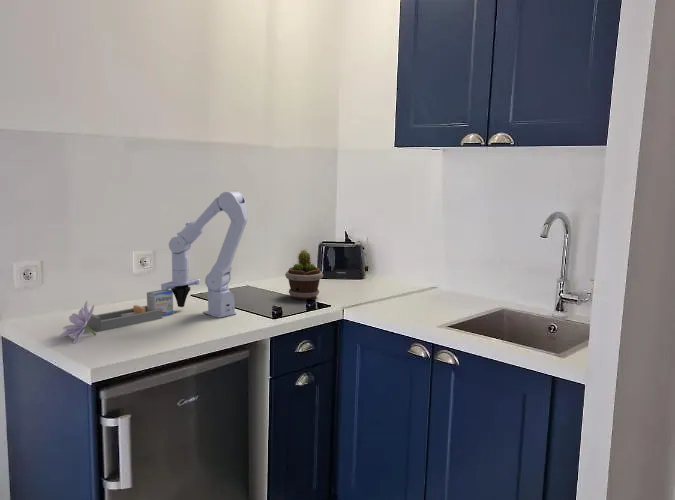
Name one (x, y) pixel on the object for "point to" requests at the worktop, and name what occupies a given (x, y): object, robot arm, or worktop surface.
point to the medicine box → (160, 301)
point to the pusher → (135, 310)
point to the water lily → (79, 323)
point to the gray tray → (121, 319)
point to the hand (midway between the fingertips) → (181, 306)
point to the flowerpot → (304, 278)
